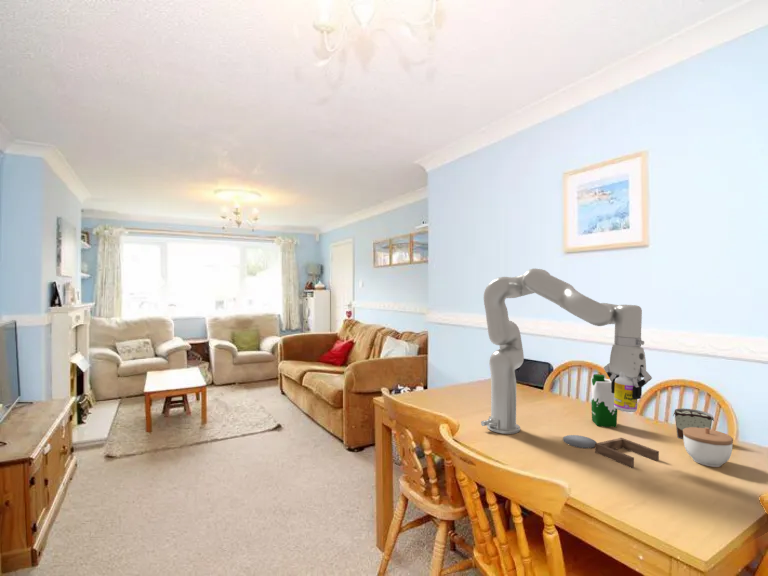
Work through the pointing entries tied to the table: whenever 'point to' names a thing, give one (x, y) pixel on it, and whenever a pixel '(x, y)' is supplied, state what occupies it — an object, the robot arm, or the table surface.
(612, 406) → the milk carton
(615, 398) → the supplement bottle
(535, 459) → the table surface
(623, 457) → the holder
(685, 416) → the food container
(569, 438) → the mat
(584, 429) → the table surface
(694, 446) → the lidded bowl
